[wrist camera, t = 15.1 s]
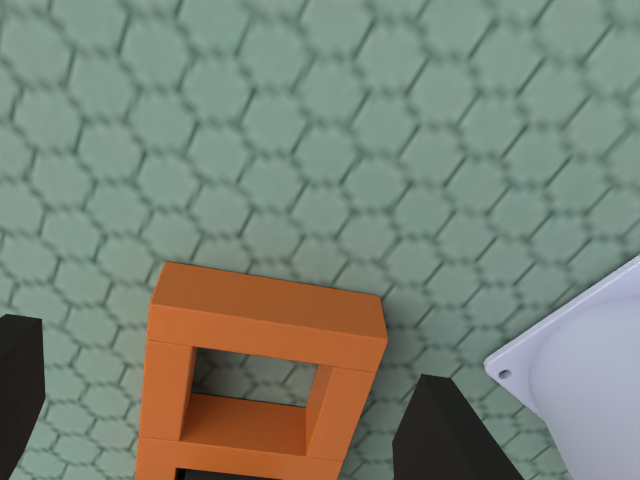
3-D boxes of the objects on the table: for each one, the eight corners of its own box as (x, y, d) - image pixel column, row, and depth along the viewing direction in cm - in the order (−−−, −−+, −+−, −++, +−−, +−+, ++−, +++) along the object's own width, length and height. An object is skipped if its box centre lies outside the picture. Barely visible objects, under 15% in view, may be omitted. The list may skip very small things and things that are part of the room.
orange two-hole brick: (165, 260, 20) (148, 304, 18) (380, 295, 21) (389, 340, 19) (142, 502, 28) (128, 554, 26) (303, 519, 29) (303, 570, 27)
